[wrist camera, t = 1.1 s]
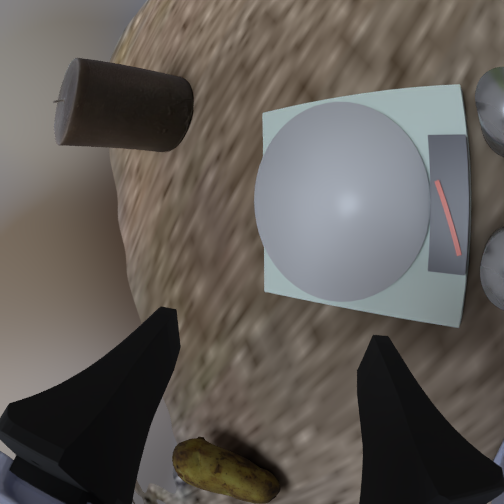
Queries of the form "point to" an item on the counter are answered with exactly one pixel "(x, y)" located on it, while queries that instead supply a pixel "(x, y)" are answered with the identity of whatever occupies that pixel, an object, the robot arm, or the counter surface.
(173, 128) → the pillar candle
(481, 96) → the cylinder
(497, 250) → the cylinder
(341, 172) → the scale
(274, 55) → the counter surface
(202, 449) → the potato
